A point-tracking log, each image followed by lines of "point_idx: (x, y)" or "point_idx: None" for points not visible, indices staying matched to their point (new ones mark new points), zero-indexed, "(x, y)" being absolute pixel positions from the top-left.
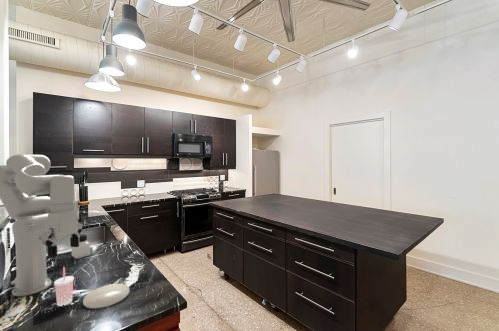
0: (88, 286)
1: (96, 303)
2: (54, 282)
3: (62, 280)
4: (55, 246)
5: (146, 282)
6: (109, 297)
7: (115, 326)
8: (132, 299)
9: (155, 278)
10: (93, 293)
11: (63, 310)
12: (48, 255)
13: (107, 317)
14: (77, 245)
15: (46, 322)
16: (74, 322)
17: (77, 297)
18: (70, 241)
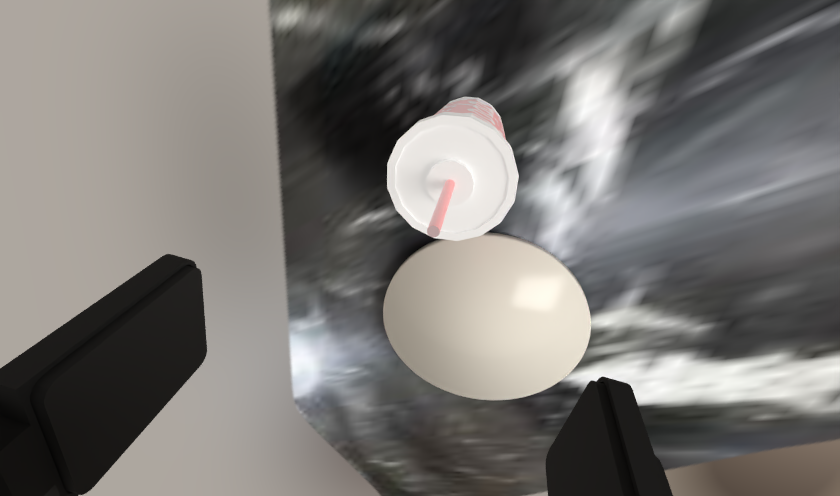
0: (649, 180)
1: (404, 309)
2: (414, 128)
3: (427, 183)
4: (51, 489)
5: None
6: (446, 344)
7: (292, 384)
8: (443, 404)
9: None
10: (502, 266)
11: None
12: (161, 268)
13: (335, 354)
14: (550, 480)
15: (303, 146)
16: (306, 261)
17: None
18: (618, 471)
